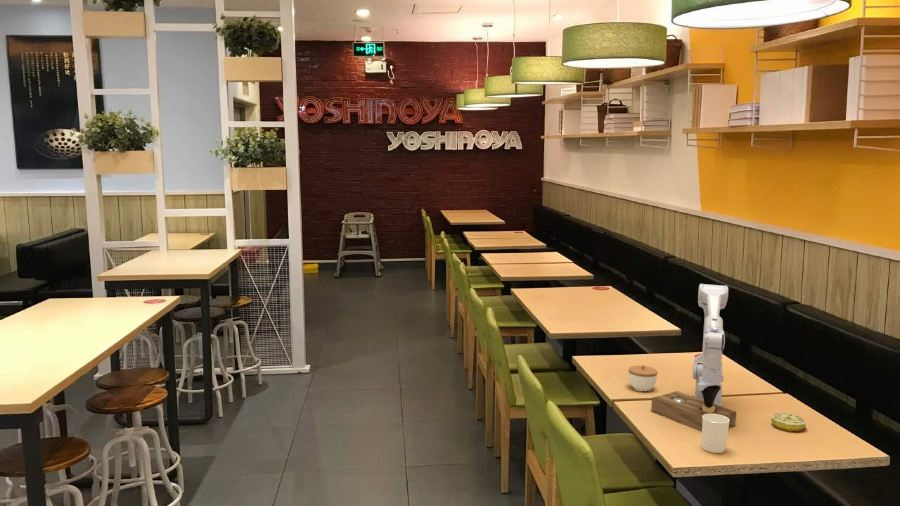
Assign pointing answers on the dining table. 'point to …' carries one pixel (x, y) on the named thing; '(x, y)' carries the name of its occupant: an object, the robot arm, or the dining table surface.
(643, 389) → the lidded jar
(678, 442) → the dining table surface
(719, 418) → the white cup
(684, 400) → the silver ball
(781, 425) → the yellow green round disc
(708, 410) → the gold ball
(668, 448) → the dining table surface
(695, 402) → the walnut block
